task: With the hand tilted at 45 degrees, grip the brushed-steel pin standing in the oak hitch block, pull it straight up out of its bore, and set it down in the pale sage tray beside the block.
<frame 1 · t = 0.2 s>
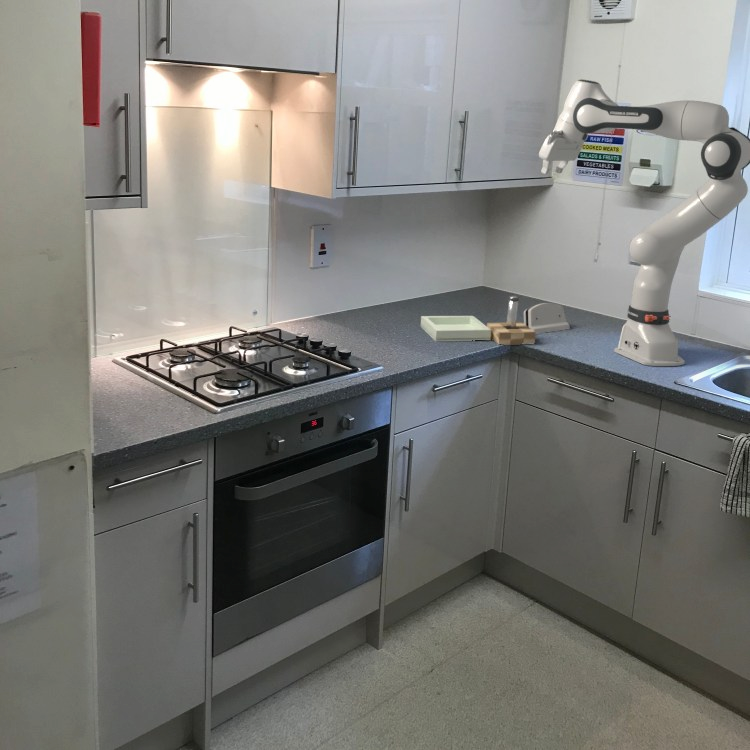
hand: (551, 172, 286), 51 cm above the worktop, tool tilted 20°, fingers open, 8 cm apart
steel pin: (511, 318, 285), in the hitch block
grey slotted holder: (544, 330, 302), on the worktop
sage tray: (454, 333, 291), on the worktop
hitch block: (509, 339, 287), on the worktop
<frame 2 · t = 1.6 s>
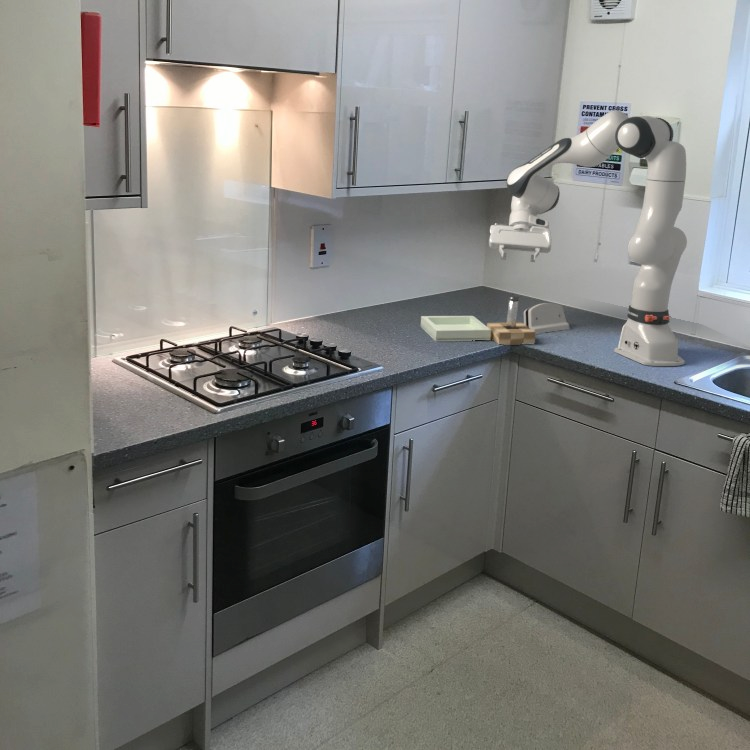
hand: (518, 259, 291), 24 cm above the worktop, tool tilted 45°, fingers open, 8 cm apart
nothing on the worktop moved.
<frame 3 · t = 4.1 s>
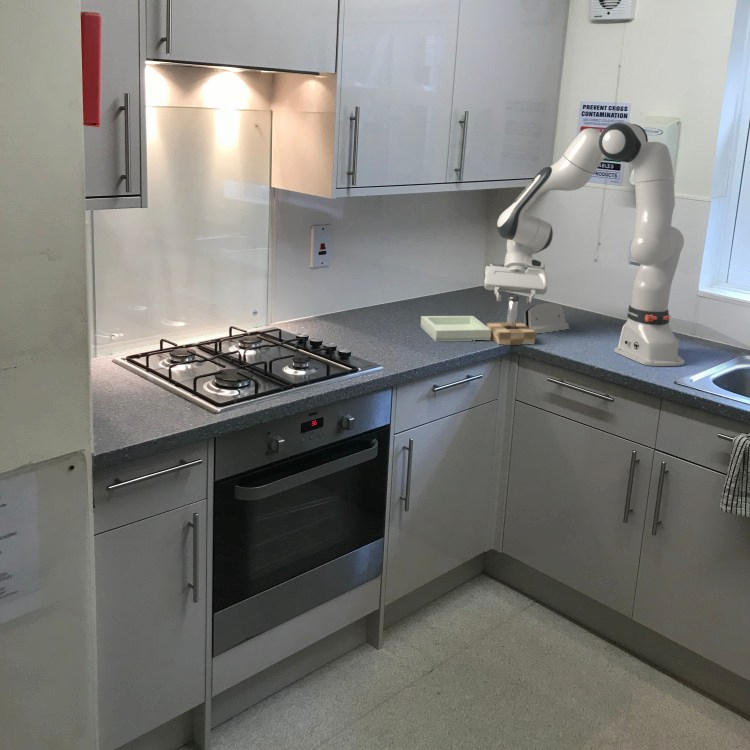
hand: (513, 301, 287), 11 cm above the worktop, tool tilted 45°, fingers open, 8 cm apart
nothing on the worktop moved.
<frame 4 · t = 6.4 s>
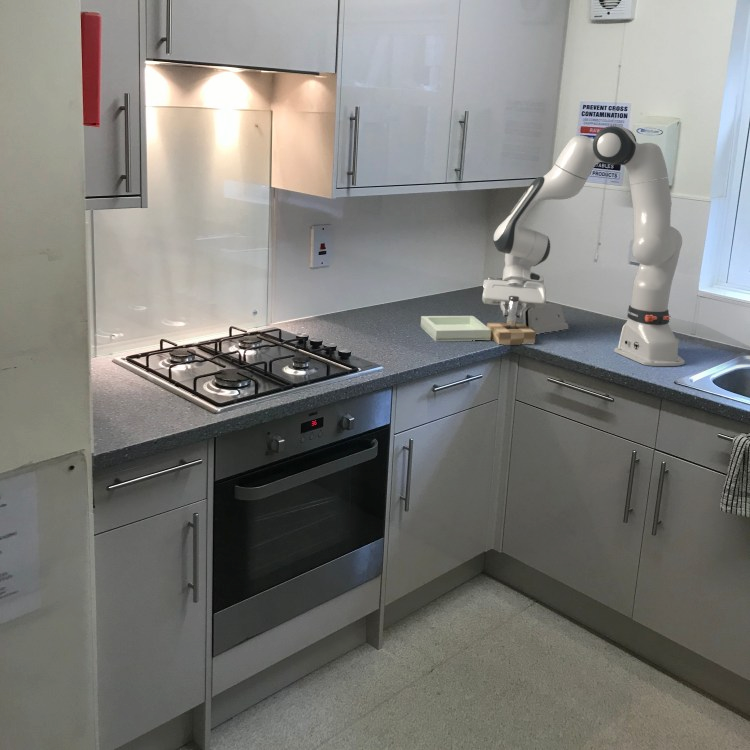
hand: (512, 316, 284), 8 cm above the worktop, tool tilted 45°, fingers closed on steel pin, 3 cm apart
steel pin: (511, 318, 285), in the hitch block, touching gripper
everything else where it was.
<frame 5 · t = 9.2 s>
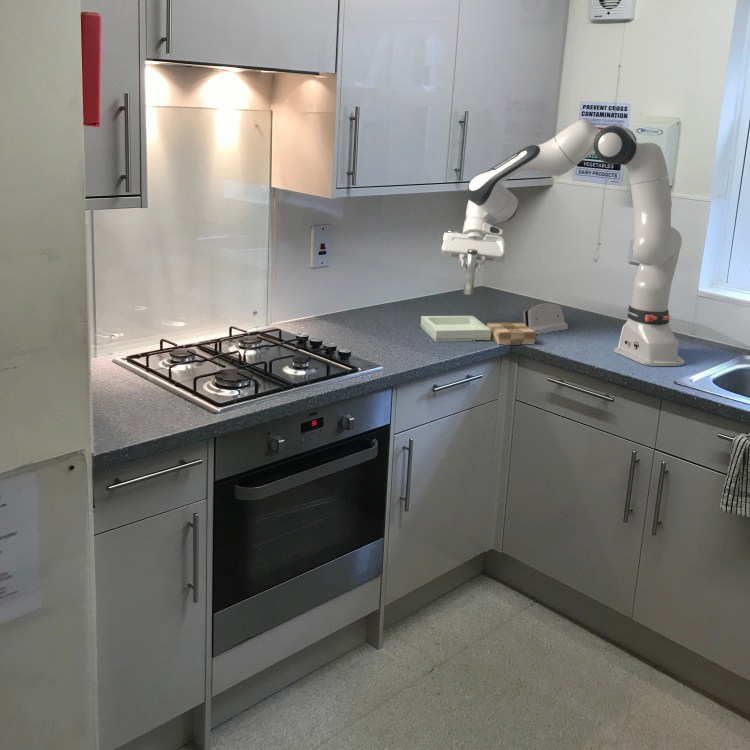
hand: (470, 268, 283), 22 cm above the worktop, tool tilted 45°, fingers closed on steel pin, 3 cm apart
steel pin: (470, 272, 284), point 20 cm above the worktop, touching gripper
everything else where it was.
when the fingers open (10 cm above the worktop, at t = 12.1 s): steel pin drops 1 cm, resting on sage tray.
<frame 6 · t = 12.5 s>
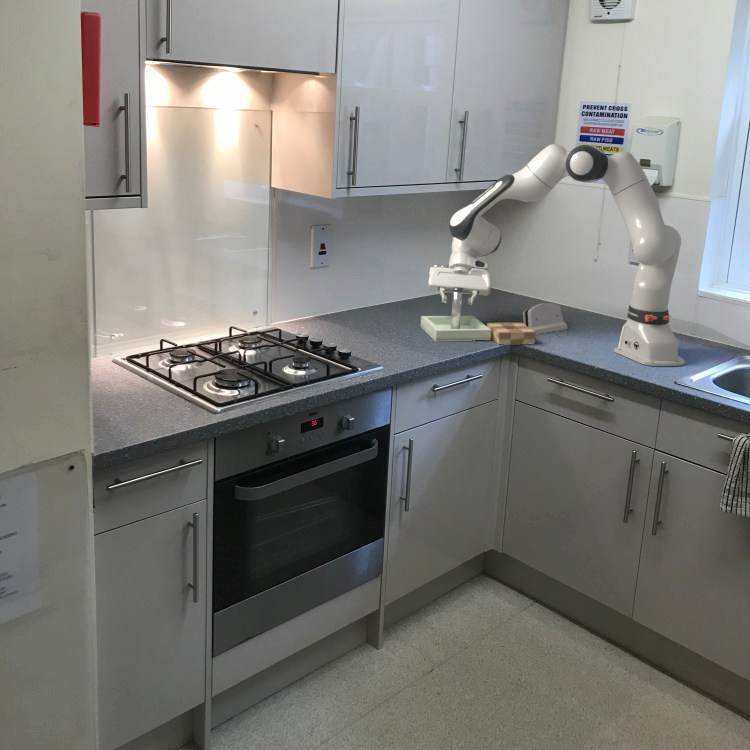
hand: (456, 302, 287), 10 cm above the worktop, tool tilted 45°, fingers open, 7 cm apart
steel pin: (456, 309, 288), in the sage tray, point 8 cm above the worktop
everything else where it was.
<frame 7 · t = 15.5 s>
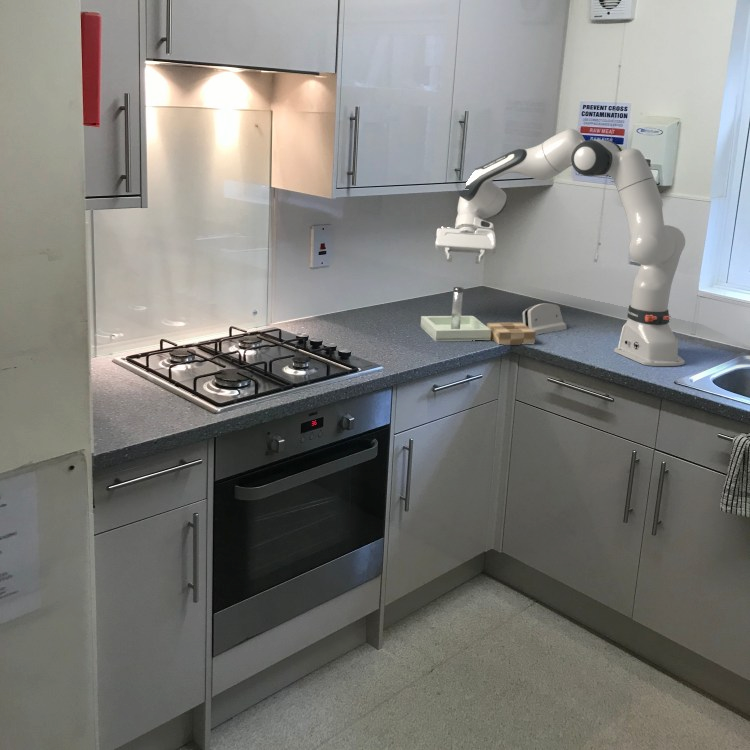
hand: (463, 261, 296), 21 cm above the worktop, tool tilted 45°, fingers open, 8 cm apart
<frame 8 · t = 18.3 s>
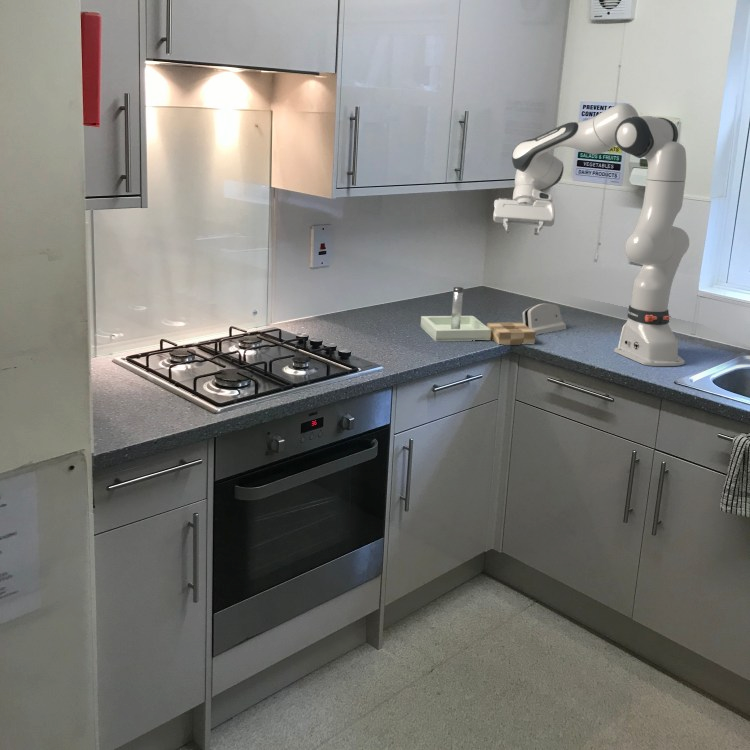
hand: (522, 233, 295), 31 cm above the worktop, tool tilted 45°, fingers open, 8 cm apart
at the end: steel pin inside the target area on the sage tray (0.1 cm from its centre), point 8.0 cm above the sage tray's base; the gripper is holding nothing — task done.
